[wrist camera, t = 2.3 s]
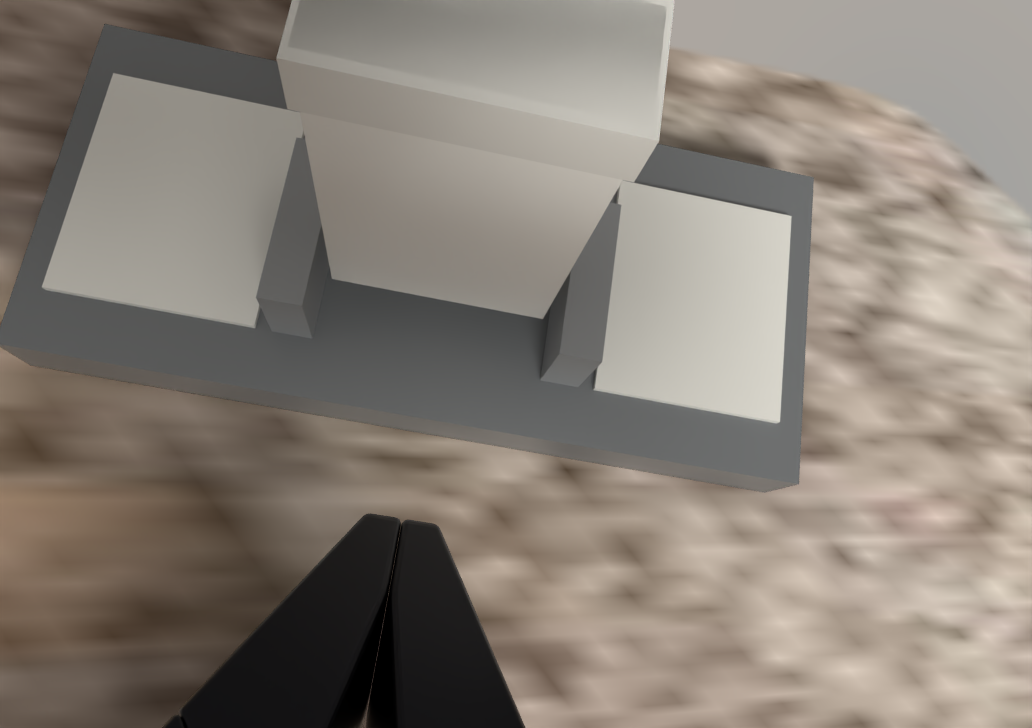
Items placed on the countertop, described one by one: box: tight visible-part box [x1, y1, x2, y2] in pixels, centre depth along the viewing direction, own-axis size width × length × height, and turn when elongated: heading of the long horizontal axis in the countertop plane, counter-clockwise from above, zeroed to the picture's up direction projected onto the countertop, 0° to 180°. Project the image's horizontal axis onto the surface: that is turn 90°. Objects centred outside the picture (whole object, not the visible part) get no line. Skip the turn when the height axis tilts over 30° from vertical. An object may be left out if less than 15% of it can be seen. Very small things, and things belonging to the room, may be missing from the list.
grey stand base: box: [0, 24, 814, 492], centre depth 21 cm, size 9×20×4 cm, turn 82°
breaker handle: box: [276, 0, 675, 319], centre depth 15 cm, size 2×5×8 cm, turn 82°
